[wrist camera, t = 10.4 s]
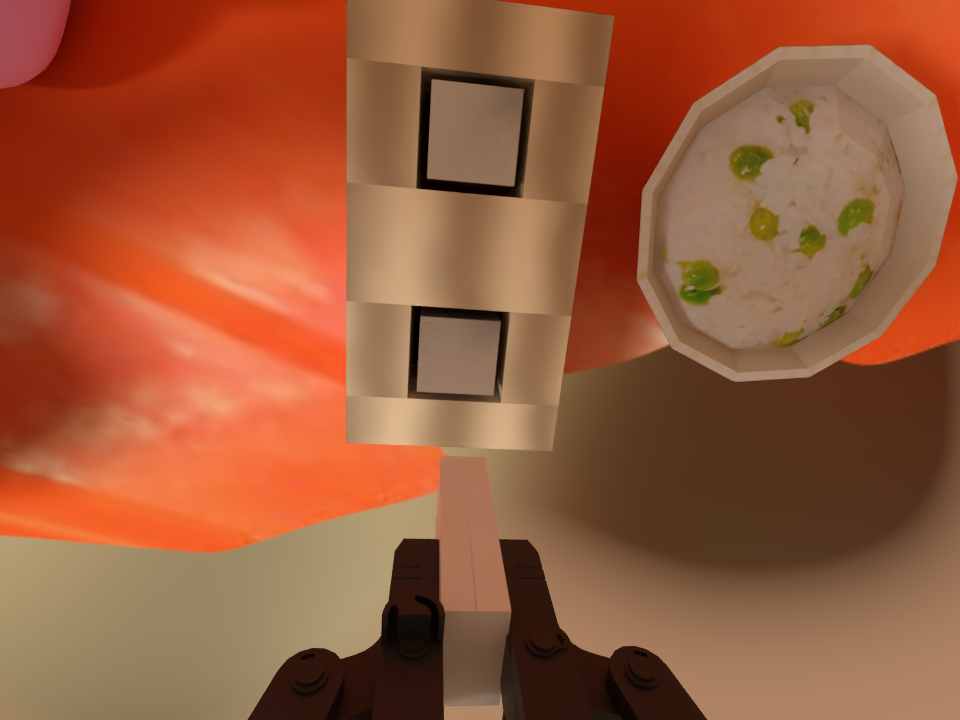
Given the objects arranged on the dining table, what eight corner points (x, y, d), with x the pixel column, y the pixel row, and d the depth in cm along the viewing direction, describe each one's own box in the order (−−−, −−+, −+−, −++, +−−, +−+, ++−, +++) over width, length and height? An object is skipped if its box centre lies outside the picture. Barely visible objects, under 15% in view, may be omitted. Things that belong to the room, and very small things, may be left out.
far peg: (420, 360, 38) (416, 391, 32) (424, 296, 36) (420, 316, 30) (485, 363, 38) (493, 395, 32) (490, 300, 37) (500, 321, 31)
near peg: (429, 181, 34) (426, 178, 28) (433, 101, 32) (431, 79, 26) (501, 188, 34) (514, 186, 28) (508, 109, 33) (523, 89, 27)
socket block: (362, 401, 39) (346, 442, 33) (366, 26, 32) (346, -19, 25) (534, 409, 41) (552, 451, 34) (580, 52, 33) (614, 15, 26)
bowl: (778, 365, 41) (879, 415, 32) (559, 319, 39) (598, 358, 29) (884, 117, 36) (1045, 88, 26) (636, 43, 33) (715, -18, 24)
